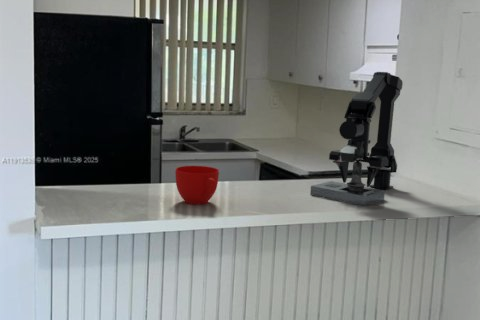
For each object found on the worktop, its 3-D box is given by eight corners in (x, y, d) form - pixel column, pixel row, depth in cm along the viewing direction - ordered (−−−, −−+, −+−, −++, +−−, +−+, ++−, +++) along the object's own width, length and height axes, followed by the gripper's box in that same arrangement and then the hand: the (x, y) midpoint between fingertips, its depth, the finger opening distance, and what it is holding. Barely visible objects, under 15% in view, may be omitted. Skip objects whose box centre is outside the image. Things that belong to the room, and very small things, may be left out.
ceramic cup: (193, 212, 168) (194, 177, 166) (167, 199, 182) (168, 166, 180) (232, 208, 175) (234, 174, 173) (204, 196, 189) (205, 164, 187)
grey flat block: (330, 189, 208) (331, 180, 207) (383, 199, 195) (384, 190, 195) (310, 194, 198) (310, 185, 197) (364, 205, 185) (365, 196, 185)
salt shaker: (363, 193, 197) (366, 157, 195) (365, 197, 191) (368, 160, 189) (345, 192, 198) (348, 156, 196) (346, 196, 192) (349, 159, 190)
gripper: (321, 135, 191) (318, 183, 194) (374, 142, 179) (370, 193, 182) (339, 133, 200) (336, 179, 202) (391, 139, 188) (386, 188, 190)
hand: (356, 184), depth 194 cm, fingers closed on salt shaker, 8 cm apart
